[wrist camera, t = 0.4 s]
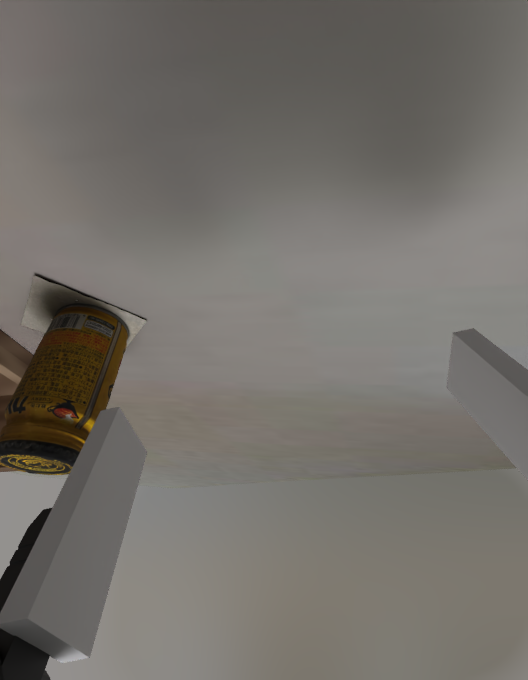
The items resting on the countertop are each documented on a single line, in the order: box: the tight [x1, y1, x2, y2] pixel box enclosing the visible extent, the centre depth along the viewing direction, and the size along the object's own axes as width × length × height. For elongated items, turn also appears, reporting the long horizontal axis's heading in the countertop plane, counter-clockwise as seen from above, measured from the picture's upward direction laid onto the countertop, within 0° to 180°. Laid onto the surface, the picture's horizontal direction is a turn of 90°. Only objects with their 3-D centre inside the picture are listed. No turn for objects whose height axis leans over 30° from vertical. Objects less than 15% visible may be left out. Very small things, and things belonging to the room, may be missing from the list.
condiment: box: [0, 276, 146, 475], centre depth 24 cm, size 7×8×12 cm
